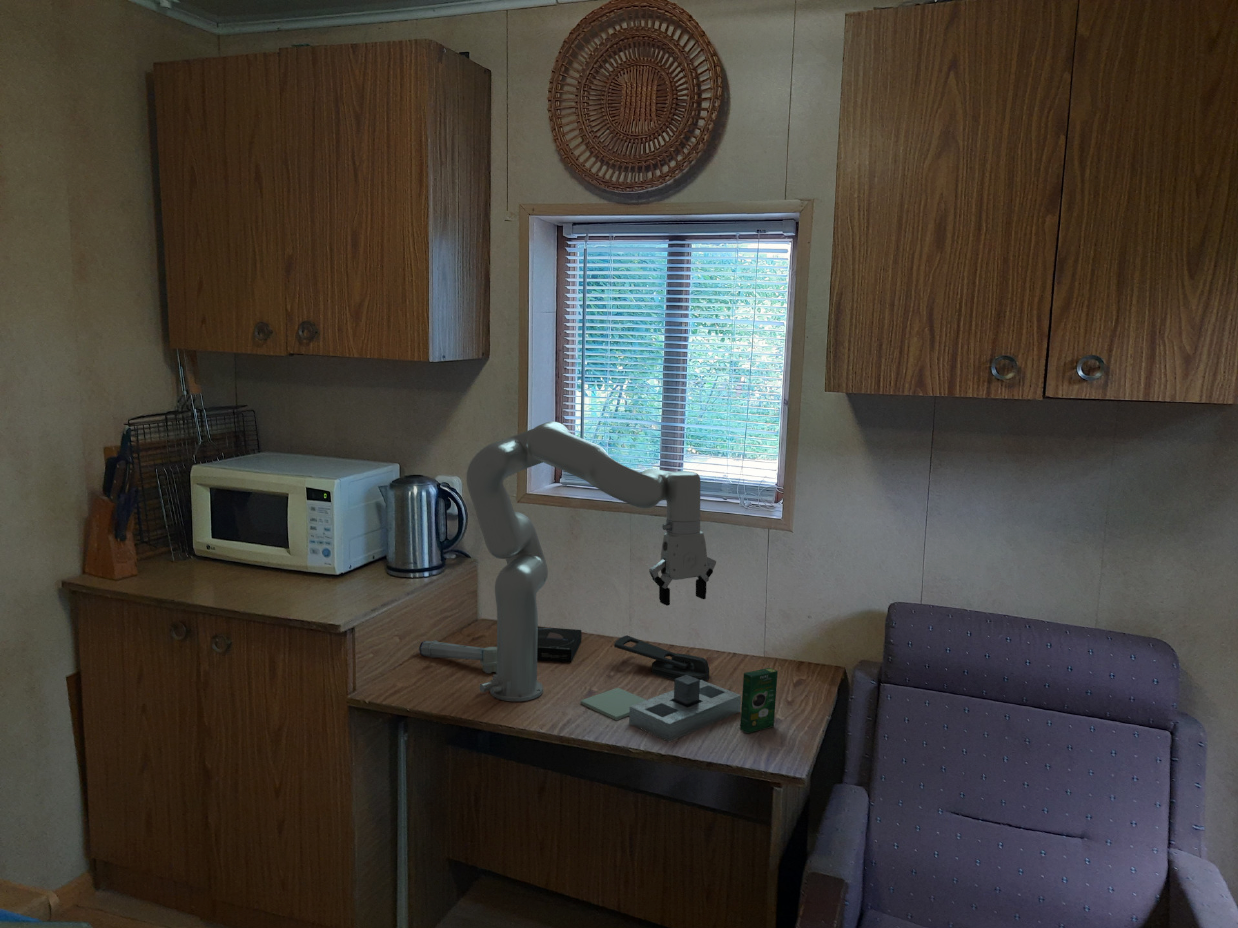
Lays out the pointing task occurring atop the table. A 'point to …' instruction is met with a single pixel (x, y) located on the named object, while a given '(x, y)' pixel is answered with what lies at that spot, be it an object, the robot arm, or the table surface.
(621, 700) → the mat
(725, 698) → the block with square holes
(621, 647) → the zipper pull
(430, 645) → the grey long angled piece
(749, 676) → the coffee box
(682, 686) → the square insert
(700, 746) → the table surface
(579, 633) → the portable cd player
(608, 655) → the table surface
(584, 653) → the table surface
